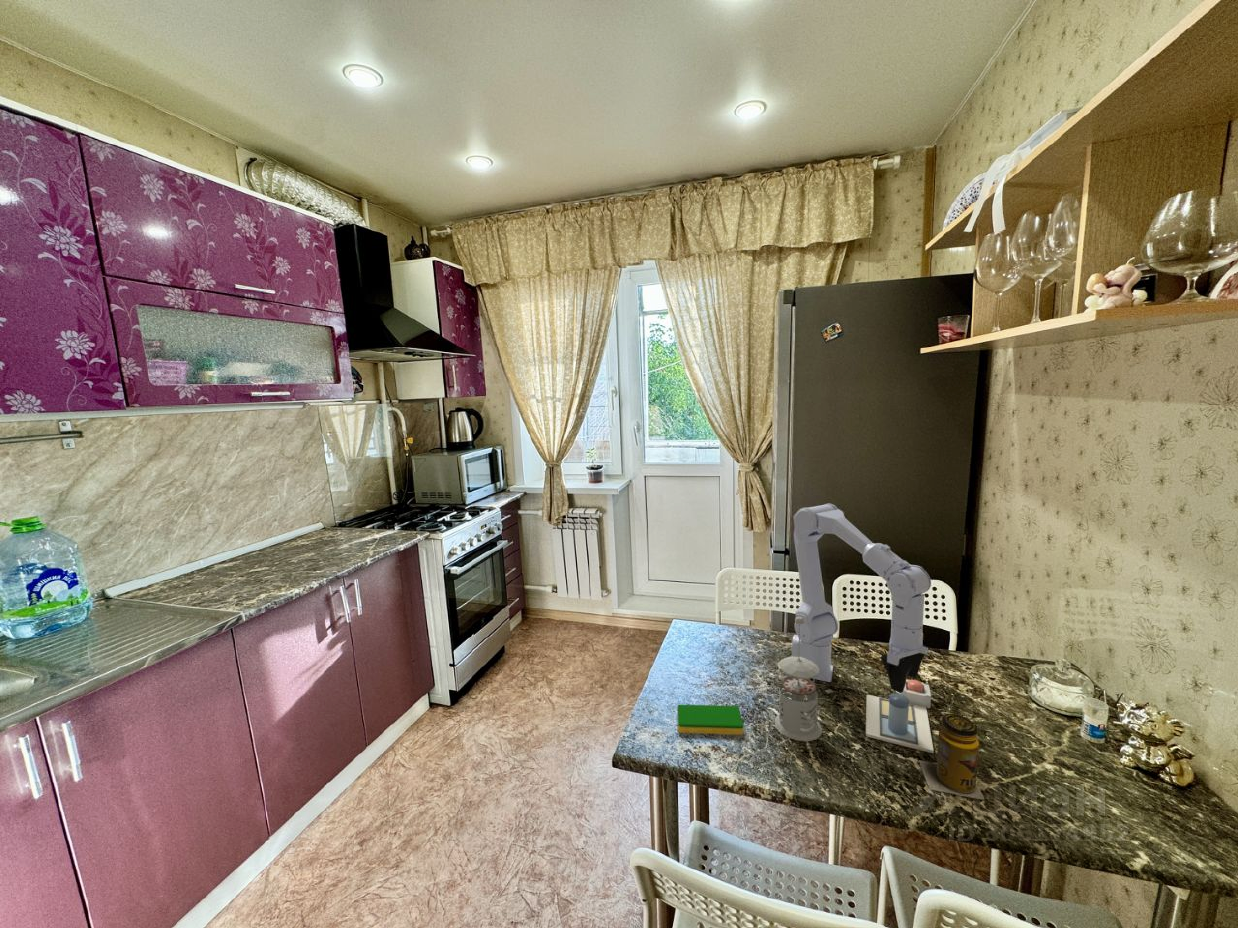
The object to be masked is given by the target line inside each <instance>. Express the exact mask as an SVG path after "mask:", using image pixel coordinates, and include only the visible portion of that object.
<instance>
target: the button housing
mask: <svg viewBox="0 0 1238 928" xmlns="http://www.w3.org/2000/svg"><path fill="white" fill-rule="evenodd" d="M909 680H910V679H906V684H905V688H904V691H903V692H902V693H900V692H899V694H901V695H904V696H906V697H907V698H908V699H909V704H912V705H916V706H921V707H925V708H926V709H931V704H932V703H931V701H932V695H931V689H930V685H929V684H926V683H924V682H921V681H920V682H921V683H922V684H923V693H919V692H914V691H910V690H908V681H909Z"/></svg>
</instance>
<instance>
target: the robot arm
mask: <svg viewBox="0 0 1238 928" xmlns="http://www.w3.org/2000/svg"><path fill="white" fill-rule="evenodd" d="M792 518H793V524H794V525H793V526H794V530H793V540H794V541H793V542H794V547H795V557H796V564H797V570H798V579H799V585H800V591H801V592H800V593H801V601H802V602H801V603H800V605H799V607H798V608H797V609H796V611H795V618H796V617H802V618H803V619H804V624H800V651H799V657H803V658H805V659H807V660H810V661H812V662H813V663H814V664H816V665H817V666H818V668H819V673H818V675H817V676H816V677H815V680H819V681H821V682H822V681H823V682H827V683H830V682H832V679H833V678H832V677H833V670H834V665H832V664H831V661H832V660H831V659H832V658H831V657H832V640H834V635H835V634H837V632H838V630H839V623H838V620H837V618H836V616H835V613H834V607H833V606H832V605H830V604H829V603H827V602H826V599H825V597H826V596H825V591H824V583H823V577H822V568H821V561H820V553H819V547H818V542H819V541H818V540H820V539H821V538H822V537H823V535H825V534H826V535H827V534H831V535H835V536H836V537H838V538H840V540H842V541H843V542H845V543H846V544H847V545H849V546H850V547H852V548H853V549H855V550H856V551H857V552H859V553H860V554H861V555H862V562H863V563H864V564H866V566H868V567H869V568H870V569H871V570H872V571H873V572H874V573H876V574H877V575H878V576H879V577H880V578H881V579H883V580H884V581H885V582H886V586H887V589H888V590H889V592H890V594H891V601H892V602H891V603H892V604H891V621H890V622H891V625H890V626H891V627H890V638H889V642H888V643H889V644H888V645H889V651H888V653H883V654H882V655H881V657H880V659H881V661H880V662H881V663H882V664H883V666H884V668H885V670H886V673H887V676H888V680H889V684H890V689H891V690H893V691H895V692H898V693H899V694H900V693H902V692H903V691H904V688H905V684H906V679H907V678H908V677H909V678H912V679H916V678H917V677H918V674H919V671H920V668H921V665H922V662H923V660H924V658H925V656H926V654H928V652H929V650H930V647H929V646H928V645H926V644H923V640H924V633H923V626H924V611H925V610H924V609H925V607H924V606H925V593H926V592H928V591H929V590H930V589H931V586H932V580H931V577H930V575H929V573H928V572H927V571H926V570H925V569H924V568H923V567H922V566H920V565H916V564H910V563H909V562H908V561H907V560H904V559H902V558H901V557H900V556H899V555H897V554H896V553H895V552H893V551H892V550H891V546H889V545H888V544H883V543H880V542H877V543H873V541H871V540H870V539H869V538H868V537H867V536H866V535H865V534H864V533H862V531H860V529H858V528H857V527H856V526H855V525H854V524H853V523H852V522H850V521H849V520H848V519H847V518H846V517H845V513H844V511H843V510H841V509H839V508H838V507H837V506H836V505H835V504H832V503H825V504H822V505H816V506H809V507H802V508H799V509H798V510H797V512H796V513H795V514H794V515H793V517H792ZM794 631H795V633H796V634H794V635H793V636H792V644H791V656H792V657H798V648H799V624H797V623H795V622H794ZM907 680H908V679H907Z"/></svg>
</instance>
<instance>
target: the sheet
mask: <svg viewBox="0 0 1238 928" xmlns="http://www.w3.org/2000/svg"><path fill="white" fill-rule="evenodd" d="M927 709H928V708H926V707H921V706H916V705H912V704H909V713H908V733H907V734H906V735H898V734H895V733H893V732H891V731H890V730H889V729H888V716H889V698H884V697H880V696H875V695H870V694H866V707H865V710H866V713H865V714H866V715H865V719H866V720H865V722H866V723H865V737H867V738H872V739H875V740H880V741H883V742H888V743H890V744H894V745H898V746H903V747H905V748H906V747H908V748H910V749H914V750H918V751H922V752H926V753H931V754H934V753H935V752H934V751H935V750H934V746H933V738H932V733H931V728H930V722H929V721H930V720H929V716H928V711H927Z"/></svg>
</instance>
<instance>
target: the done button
mask: <svg viewBox="0 0 1238 928" xmlns="http://www.w3.org/2000/svg"><path fill="white" fill-rule="evenodd" d="M908 680H909V681H908V690H910V691H914V692H919V693H923V684H922V683H923V682H922V683H921V681H920V680H916V679H908Z"/></svg>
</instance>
